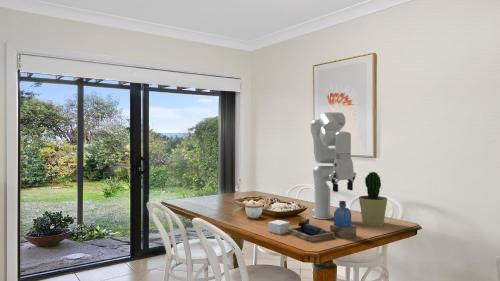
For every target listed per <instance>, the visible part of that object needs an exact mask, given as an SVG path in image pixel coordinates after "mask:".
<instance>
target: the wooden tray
mask: <svg viewBox="0 0 500 281" xmlns="http://www.w3.org/2000/svg"><path fill="white" fill-rule="evenodd" d="M300 227H301V226H297V227H290V228H289V229H288V232H287V234H289V235H291V236H292V237H293V236H294V237H296V238H299V239H301V240H303V241H306V242H309V243H313V242H319V241H325V240H330V239H335V238H336V237H335V233H334V232H331V231H330V230H328V229H325V228H322V229H323V230H324V233H323V234H320V235H310V234H306V233H301V232H299V228H300Z"/></svg>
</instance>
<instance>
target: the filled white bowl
mask: <svg viewBox="0 0 500 281" xmlns="http://www.w3.org/2000/svg"><path fill="white" fill-rule="evenodd" d="M244 206H245V208H244V209H245V213H246V215H247V217H248V218H250V219H258V218H259V217H260V216H261V215H262V213H263V204H262V203H259V202H255V201H253V202H249V203H245V205H244Z"/></svg>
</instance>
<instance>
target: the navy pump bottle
mask: <svg viewBox="0 0 500 281" xmlns="http://www.w3.org/2000/svg"><path fill="white" fill-rule="evenodd" d="M297 224H298V226H297V227H300V228H299V232H301V233H304V234H306V233H307V234H308V235H311V236H314V235H320V234H323V233H324V230H323V229H324V228H322V227H320V226H316V225H314V224H310V218H307V219H305V220H302V221H301V220H299V222H298V223H297Z"/></svg>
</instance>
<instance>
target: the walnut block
mask: <svg viewBox="0 0 500 281" xmlns="http://www.w3.org/2000/svg"><path fill="white" fill-rule="evenodd" d="M329 229H330V230H329V231H331V232H334V233H335V238H339V239H343V240H347V239H350V238H354V237H356V236H357V225H355V224H351V225H350V226H348V227H340V226H334V224H330V225H329Z"/></svg>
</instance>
